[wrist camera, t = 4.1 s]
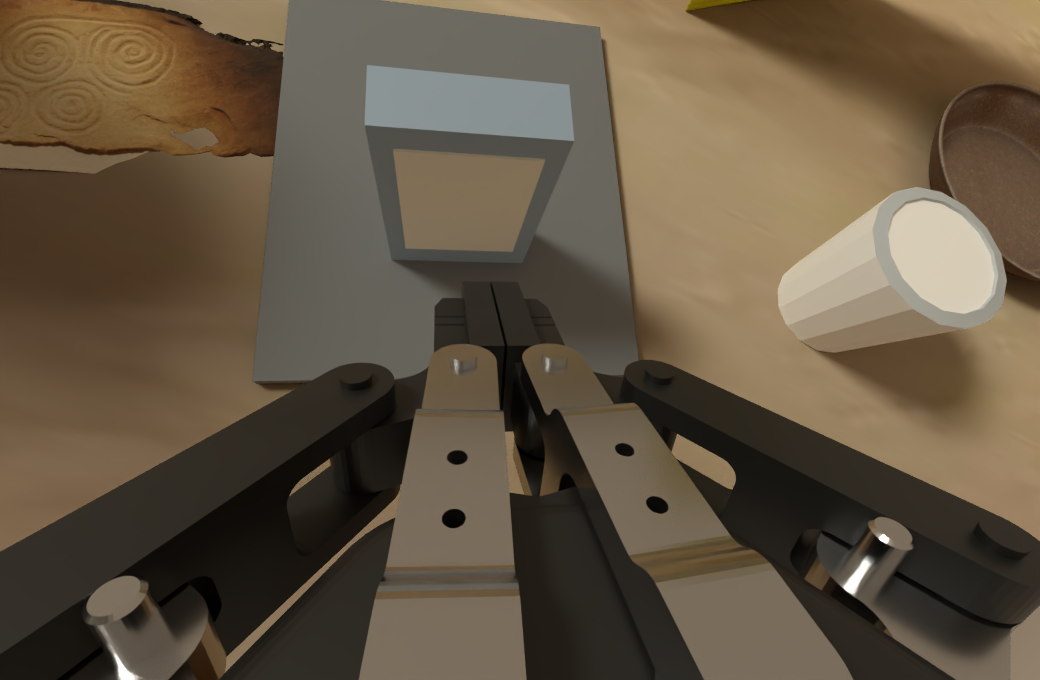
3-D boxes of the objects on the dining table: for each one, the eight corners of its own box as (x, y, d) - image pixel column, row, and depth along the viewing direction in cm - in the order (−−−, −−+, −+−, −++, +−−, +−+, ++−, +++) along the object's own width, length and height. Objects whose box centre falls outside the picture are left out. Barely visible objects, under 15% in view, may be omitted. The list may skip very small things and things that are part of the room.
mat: (256, 383, 21) (252, 381, 21) (293, -1, 27) (290, -11, 26) (635, 376, 24) (640, 374, 24) (596, 35, 30) (599, 27, 30)
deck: (391, 261, 23) (364, 127, 14) (392, 219, 24) (366, 65, 15) (522, 265, 24) (574, 143, 15) (520, 224, 25) (569, 84, 16)
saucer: (1087, 335, 31) (1146, 323, 28) (890, 246, 30) (932, 225, 28) (1082, 160, 36) (1133, 136, 33) (911, 79, 35) (949, 47, 32)
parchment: (-261, 162, 20) (-290, 149, 19) (-191, -21, 22) (-215, -39, 22) (350, 193, 25) (347, 184, 24) (356, 41, 27) (353, 28, 27)
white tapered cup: (869, 379, 27) (1012, 349, 20) (760, 340, 26) (870, 296, 20) (876, 274, 29) (1007, 215, 22) (775, 236, 28) (879, 164, 22)
